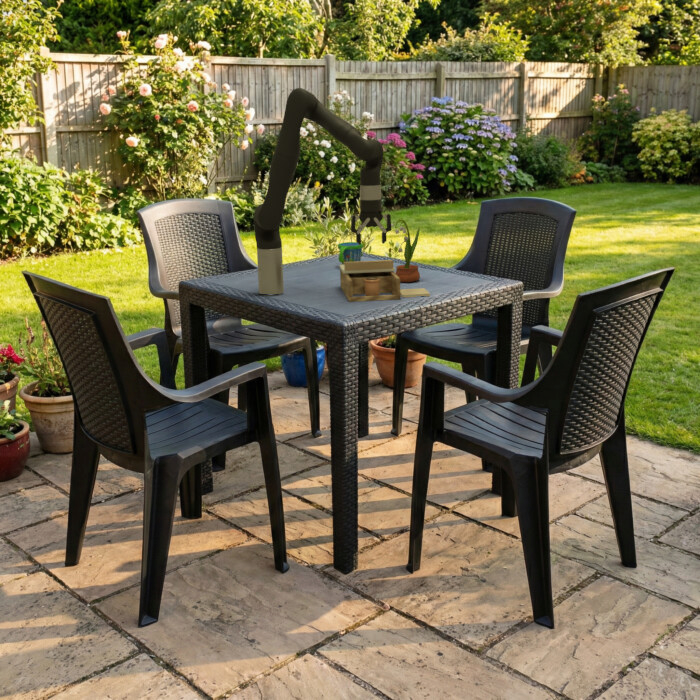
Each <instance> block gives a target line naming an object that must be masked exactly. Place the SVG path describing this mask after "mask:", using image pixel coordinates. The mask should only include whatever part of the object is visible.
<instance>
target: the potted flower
mask: <svg viewBox="0 0 700 700" xmlns="http://www.w3.org/2000/svg"><path fill="white" fill-rule="evenodd" d="M400 222H401V223H400ZM394 223H395V224H394ZM398 223H400V226H399V228H395V230H394V233H395V235H397V234H399V233H401V231H402V234H405V235H404V238H403V242H402V243H400V246H399V248H398V253H403V252H404V253H403V257H404V259H405V260H404V261H405V264H401V265H397V266H396V267H395V272H394V273H395V274H396V275H397V276H398V277H399V278H400V283H414V282H417V281H419V279H420V278H421V274H420V272H419V266H418V265H415V264H411V261H412V258H413V256H414V255H413V254H414V252H415V251H416V250H415V249H416V247H417V244H418V239H419V237H420V230H421V228H420V227H419V228H418V229H417V230H416V234H415V238H414V239H413V242H412V244H411V236H410V230H409V227H408V224H407V222H406V221H405V220H404V219H403V217H399V219H398V220H396V222H395V221H394V222H393V223H392V222H391V228H394V227H397V225H398ZM403 243H405V247H404V251H403V248H402V245H403Z"/></svg>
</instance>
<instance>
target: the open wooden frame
mask: <svg viewBox="0 0 700 700" xmlns="http://www.w3.org/2000/svg"><path fill="white" fill-rule="evenodd" d="M339 269H340V268H339ZM339 273H340V274H339V275H340V276H339V278H340V279H339V280H340V288H341V290H342V292H343V294H344V295H345V296H346V298H347V300H348V302H349V303H352V302H354V303H355V301H356V302H370V301H371V302H373V301H393V300H394V301H395V300H396V301H397V300H401V295H400V289H401V282H400V278H399V277H398V276H397V275H396V274H395V273H396V272H395V271H391V272H368V273H346V274H343V272H342V271H341V269H340V270H339ZM366 277H378V278H380V282H379V296H365V282H364V279H365V278H366ZM380 294H381V295H380ZM382 294H383V295H382ZM353 295H361V296H353Z"/></svg>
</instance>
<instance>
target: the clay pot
mask: <svg viewBox="0 0 700 700" xmlns="http://www.w3.org/2000/svg"><path fill="white" fill-rule="evenodd" d="M364 282H365V294H364V296H380V293H379V282H380V278H378V277H366V278H365V279H364Z"/></svg>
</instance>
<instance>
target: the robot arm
mask: <svg viewBox="0 0 700 700" xmlns="http://www.w3.org/2000/svg"><path fill="white" fill-rule="evenodd" d="M305 119H307V120H308V121H311V122H313V123H315V124H317V125H318V126H320V127H321V128H323V129H324V130H325V131H326V132H327V133H329V134H330V135H331V137H332V138H334V139H336V140H337V141H338V142H340V143H341V144H343V145H344V147H347V148H348V149H349V151H350V152H351V153H352V154H353V155H354V156H355V157H356V158H358V159H359V160H361V161H363V162H365V164H364V167H363V168H362V169H361V170H360V176H359V177H360V178H359V179H360V182H359V183H360V187H359V209H360V210H359V211H360V212H359V215H354V214H352V215H351V217H350V219H351V220H350V231H351V233H354V234H355V235H356V237H355V241H356V242H357V243H358V244H359V245H361V243H362V234H361V233H362V231H363V230H364V229H365V227H366V228H371V227H373V228H376V227H378V228H379V230H380V231H381V243H382V244H385V242H387V233H388V232H391V231H392V227H391V224H392V219H391V218H392V217H391V214H390V213H386V214H383V213H382V198H383V197H382V188H381V170H382V166H383V165H382V164H383V161H384V147H383V144H382V143H381V142H380V140H377V139H366V138H364V137H363V136H362V133H361V131H360V130H359V129H357V128H356V127H355V126H354V125H352V124H351V123H349V122H348V121H346V120H344V119H343V118H341V117H339V116H338V115H336V114H335V113H333V112H332V111H331V110H330V109H328V108H327V107H326V106H325V105H324V104H323V103H322V102H321V101H320V100H319V98H317V97H316V96H315V95H314V94H313V93H312V92H310V91H308V90H306V89H305V88H301V87H297V88H295V89H293V90H292V91H291V92H290V93H289V95H288V97H287V100H286V103H285V109H284V115H283V120H282V124H281V129H280V132H279V134H278V140H277V143H276V145H275V149H274V151H273V155H272V158H271V162H270V166H269V174H268V175H269V176H268V185H267V186H268V187H267V191H266V194H265V196H264V197H265V198H264V200H263V203H261V204H258V206H257V207H256V208H255V209H254V214H253V223H254V225H253V226H254V239H255V243H256V257H257V280H258V283H257V284H258V294H259V293H260V294H279V295H282V294H281V293H283V292H285V290H284V289H285V287H284V272H283V271H284V268H283V244H282V238H281V234H280V225H281V223H282V222H283V216H284V211H285V205H286V200H287V196H288V193H289V190H290V188H291V185H292V181H293V178H294V176H295V173H296V169H297V167H298V163H299V160H300V156H301V139H300V138H301V137H300V135H301V128H302V124H303V121H304V120H305ZM383 219H384V220H385V221H386V227H384V225H383V224H382V223H381V222H382V220H383ZM358 220H360V225H358V227H357V229H356V222H358ZM283 294H284V293H283Z"/></svg>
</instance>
